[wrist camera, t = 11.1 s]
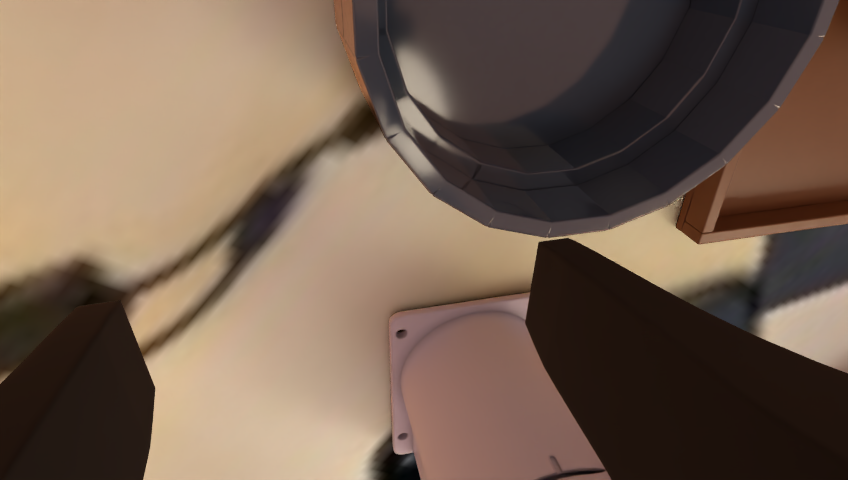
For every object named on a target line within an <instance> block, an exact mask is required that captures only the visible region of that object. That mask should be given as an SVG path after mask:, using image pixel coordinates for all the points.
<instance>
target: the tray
mask: <svg viewBox="0 0 848 480" xmlns="http://www.w3.org/2000/svg"><path fill="white" fill-rule="evenodd" d="M823 38H824V40H823V42H822V43H821V45H820V46H819V48H818V49H817V51H816V53H815V54H814V56H813V57H812V59H811V60H810V62H809V64H808V65H807V67H806V68H805V70H804V71H803V73H802V75H801V76H800V78H799V79H798V81H797V82H796V84H795V86H794V87H793V89H792V90H791V92H790V93H789V95H788V96H787V98H786V100H785V101H784V103H783V104H782V106H781V107H780V108H779V109H778V111H777V112H776V113H775V114H774V115H773V116H772V117H771V118H770V119H769V121H768V122H767V123H766V124H765V125H764V126H763V127H762V128H761V129H760V130H759V131H758V132H757V133H756V134H755V135H754V136H753V137H752V139H751V140H750V141H749V142H748V143H747V144H746V145H745V146H744V147H743V148H742V149H741V150H740V151H739V152H738V153H737V154H736V155H735V156H734V158H733V159H732V160H731V161H730V162H729V163H728V164H726V165H725V166H724V167H723V168H721V169H720V170H718V171H717V172H716V173H714V174H713V175H711V176H710V177H708V178H707V179H706V180H704V181H703V182H701V183H700V184H699V185H697V186H696V187H694V188H693V189H691V190H690V191H689V192H687V193H686V196H685V199H684V202H683V206H682V209H681V212H680V215H679V219H678V222H677V225H676V228H677V229H679V230H680V231H682V232H683V233H684V234H685V235H687V236H688V237H689V238H691V239H692V240H693V241H694V242H696V243H697V244H705V243H712V242H719V241H726V240H733V239H741V238H748V237H755V236H762V235H769V234H776V233H784V232H791V231H798V230H805V229H812V228H819V227H827V226H834V225H841V224H848V0H840V1H839V3H838V6H837V8H836V11H835V13H834V16H833V18H832V21H831V24H830V26H829V29H828V31H827V34H826V36H825V37H823Z"/></svg>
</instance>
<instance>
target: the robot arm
mask: <svg viewBox="0 0 848 480" xmlns="http://www.w3.org/2000/svg"><path fill="white" fill-rule="evenodd" d="M399 330H404V331H403V332H400V333H397V332H398V331H399ZM389 346H390V378H391V410H392V442H393V449H394V452H395V453H396V454H407V453H412V452H414V455H415V459H416V462H417V466H418V470H419V474H420V478H421V480H848V373H845V372H842V371H840V370H837V369H834V368H832V367H829V366H827V365H824V364H821V363H819V362H816V361H814V360H811V359H809V358H807V357H804V356H802V355H799V354H797V353H795V352H792V351H790V350H788V349H785V348H783V347H780V346H778V345H776V344H773V343H771V342H769V341H766V340H764V339H762V338H759V337H757V336H755V335H753V334H751V333H748V332H746V331H744V330H742V329H740V328H738V327H736V326H734V325H732V324H730V323H728V322H726V321H724V320H722V319H719V318H717V317H715V316H713V315H711V314H709V313H707V312H705V311H703V310H701V309H699V308H697V307H695V306H694V305H692V304H690V303H688V302H686V301H684V300H682V299H680V298H678V297H676V296H675V295H673V294H671V293H669V292H667V291H665V290H663V289H662V288H660V287H658V286H656V285H654V284H652V283H651V282H649V281H647V280H645V279H643V278H642V277H640V276H638V275H636V274H635V273H633V272H631V271H629V270H627V269H626V268H624V267H622V266H620V265H618V264H617V263H615V262H613V261H611V260H610V259H608V258H606V257H604V256H602V255H600V254H599V253H597V252H595V251H593V250H591V249H589V248H588V247H586V246H584V245H582V244H580V243H578V242H576V241H573V240H571V239H569V238H565V239H557V240H550V241H543V242H539V243H538V249H537V255H536V261H535V267H534V273H533V279H532V284H531V290H530V292H528V293H521V294H514V295H508V296H501V297H494V298H488V299H481V300H474V301H468V302H461V303H454V304H448V305H441V306H434V307H428V308H421V309H414V310H408V311H401V312H397V313H395V314H393V315H392V316H391V317H390V319H389ZM154 397H155V386H154V384H153V381H152V379H151V376H150V374H149V371H148V369H147V366H146V364H145V361H144V359H143V356H142V353H141V351H140V348H139V346H138V343H137V341H136V338H135V336H134V333H133V331H132V328H131V326H130V323H129V321H128V318H127V315H126V313H125V310H124V308H123V305H122V303H121V300H119V301H112V302H105V303H98V304H91V305H83V306H78V307H76V308H75V309H74V310H73V311H72V312H71V313H70V314H69V315H68V316H67V317H66V318H65V319H64V320H63V321H62V322H61V323H60V324H59V325H58V326H57V327H56V328H55V329H54V330H53V331H52V332H51V333H50V334H49V335H48V336H47V337H46V338H45V339H44V340H43V341H42V342H41V343H40V344H39V345H38V346H37V347H36V348H35V349H34V350H33V352H32V353H31V354H30V355H29V356H28V357H27V358H26V359H25V360H24V361H23V362H22V363H21V364H20V365H19V366H18V367H17V368H16V369H15V370H14V371H13V372H12V373H11V374H10V375H9V376H8V377H7V378H6V379H5V380H4V381H3V382H2V383H1V384H0V480H143V477H144V473H145V468H146V464H147V459H148V454H149V449H150V442H151V433H152V423H153V411H154Z"/></svg>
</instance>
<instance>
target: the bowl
mask: <svg viewBox="0 0 848 480" xmlns="http://www.w3.org/2000/svg"><path fill="white" fill-rule="evenodd" d="M839 1H840V0H334V10H335V23H336V25H337V30H338V33H339V35H340V38H341V40H342V43H343V46H344V48H345V51H346V54H347V56H348V59H349V61H350V64H351V67H352V69H353V72H354V74H355V77H356V80H357V82H358V85H359V87H360V90H361V92H362V94H363V96H364V98H365V100H366V102H367V104H368V106H369V108H370V110H371V112H372V114H373V116H374V118H375V120H376V122H377V124H378V125H379V127H380V129H381V131H382V133H383V135H384V137H385V139H386V141H387V142H388V143H389V144H390V146H391V147H392V148H393V149H394V150H395V152H396V153H397V154H398V155H399V156H400V158H401V159H402V160H403V161H404V162H405V164H406V165H407V166H408V167H409V168H410V170H411V171H412V172H413V173H414V175H415V176H416V177H417V178H418V179H419V181H420V182H421V183H422V184H423V185H424V187H425V188H426V189H427V190H428V191H429V193H431V194H432V195H433V196H434V197H436V198H438V199H439V200H441V201H443V202H445V203H446V204H448V205H450V206H452V207H453V208H455V209H457V210H459V211H460V212H462V213H464V214H465V215H467V216H469V217H471V218H472V219H474V220H476V221H478V222H479V223H481V224H483V225H485V226H488V227H490V228H496V229H501V230H507V231H512V232H518V233H523V234H529V235H534V236H540V237H545V238H546V237H549V238H550V237H558V236H566V235H574V234H582V233H590V232H598V231H605V230H608V229H612V228H615V227H617V226H620V225H622V224H625V223H627V222H629V221H632V220H634V219H637V218H639V217H642V216H644V215H647V214H649V213H651V212H654V211H656V210H659V209H661V208H664V207H666V206H668V204H672V203H673V202H674V201H676V200H677V199H679V198H680V197H681V196H683V195H684V194H686V193H687V192H689V191H690V190H691V189H693V188H694V187H696V186H697V185H699V184H700V183H701V182H703V181H704V180H706V179H707V178H708V177H710V176H711V175H713V174H714V173H716V172H717V171H718V170H720V169H721V168H723V167H724V166H725V165H726V164H728V163H729V162H730V161H731V160H732V159H733V158H734V156H735V155H736V154H737V153H738V152H739V151H740V150H741V149H742V148H743V147H744V146H745V145H746V144H747V143H748V142H749V141H750V140H751V139H752V137H753V136H754V135H755V134H756V133H757V132H758V131H759V130H760V129H761V128H762V127H763V126H764V125H765V124H766V123H767V122H768V121H769V119H770V118H771V117H772V116H773V115H774V114H775V113H776V112H777V111H778V109H779V108H780V107H781V106H782V104H783V103H784V101H785V100H786V98H787V96H788V95H789V93H790V92H791V90H792V89H793V87H794V86H795V84H796V82H797V81H798V79H799V78H800V76H801V75H802V73H803V71H804V70H805V68H806V67H807V65H808V64H809V62H810V60H811V59H812V57H813V56H814V54H815V53H816V51H817V49H818V48H819V46H820V45H821V43H822V42H823V40H824V38H823V37H825V36H826V34H827V31H828V29H829V26H830V24H831V21H832V18H833V16H834V13H835V11H836V8H837V6H838V3H839Z"/></svg>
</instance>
